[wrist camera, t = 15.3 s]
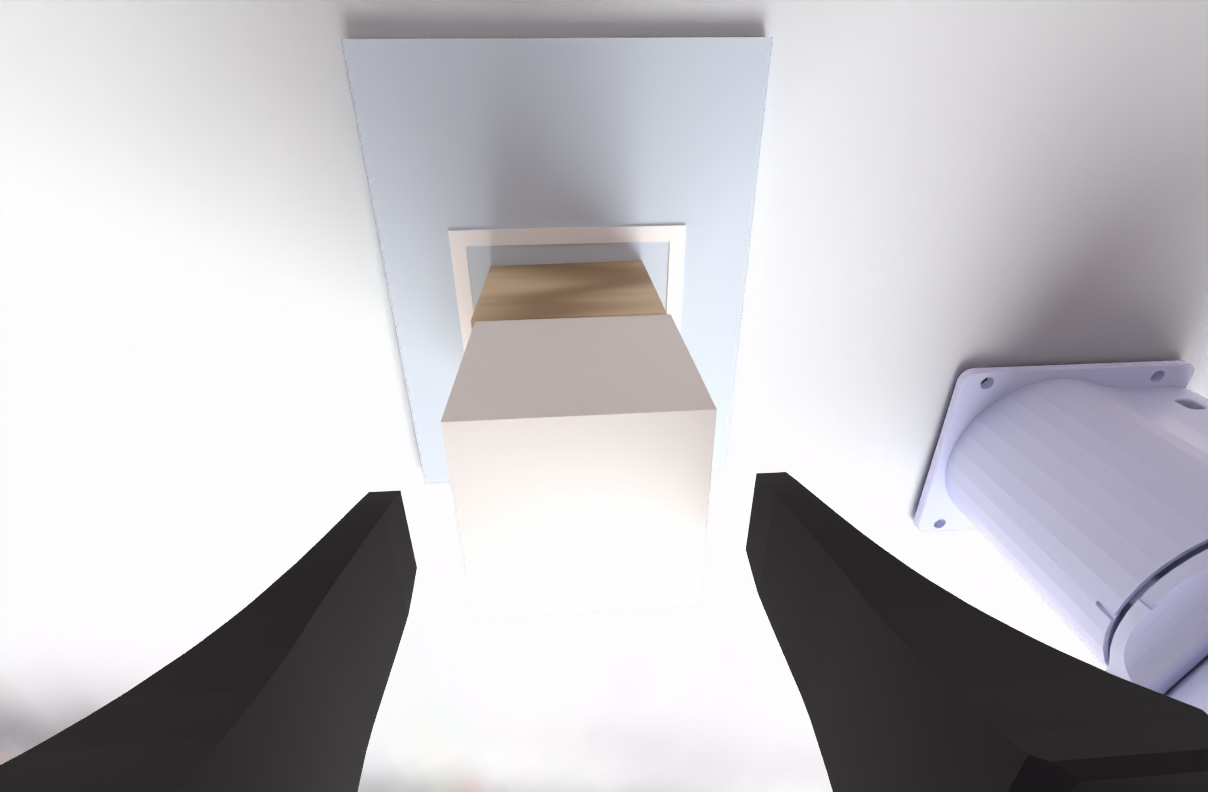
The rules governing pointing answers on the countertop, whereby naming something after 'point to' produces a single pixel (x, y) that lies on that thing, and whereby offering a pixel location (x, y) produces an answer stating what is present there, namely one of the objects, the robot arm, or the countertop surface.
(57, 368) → the countertop surface
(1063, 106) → the countertop surface
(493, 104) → the board
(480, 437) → the top cube
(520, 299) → the base cube
